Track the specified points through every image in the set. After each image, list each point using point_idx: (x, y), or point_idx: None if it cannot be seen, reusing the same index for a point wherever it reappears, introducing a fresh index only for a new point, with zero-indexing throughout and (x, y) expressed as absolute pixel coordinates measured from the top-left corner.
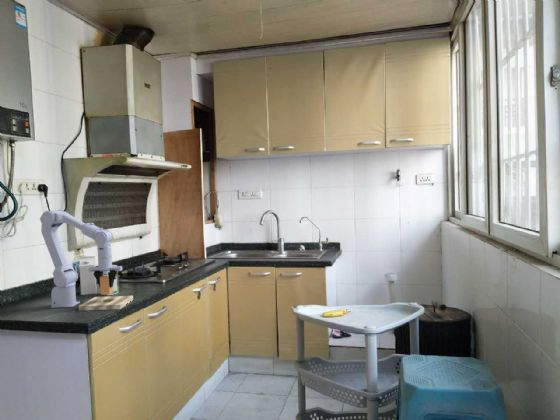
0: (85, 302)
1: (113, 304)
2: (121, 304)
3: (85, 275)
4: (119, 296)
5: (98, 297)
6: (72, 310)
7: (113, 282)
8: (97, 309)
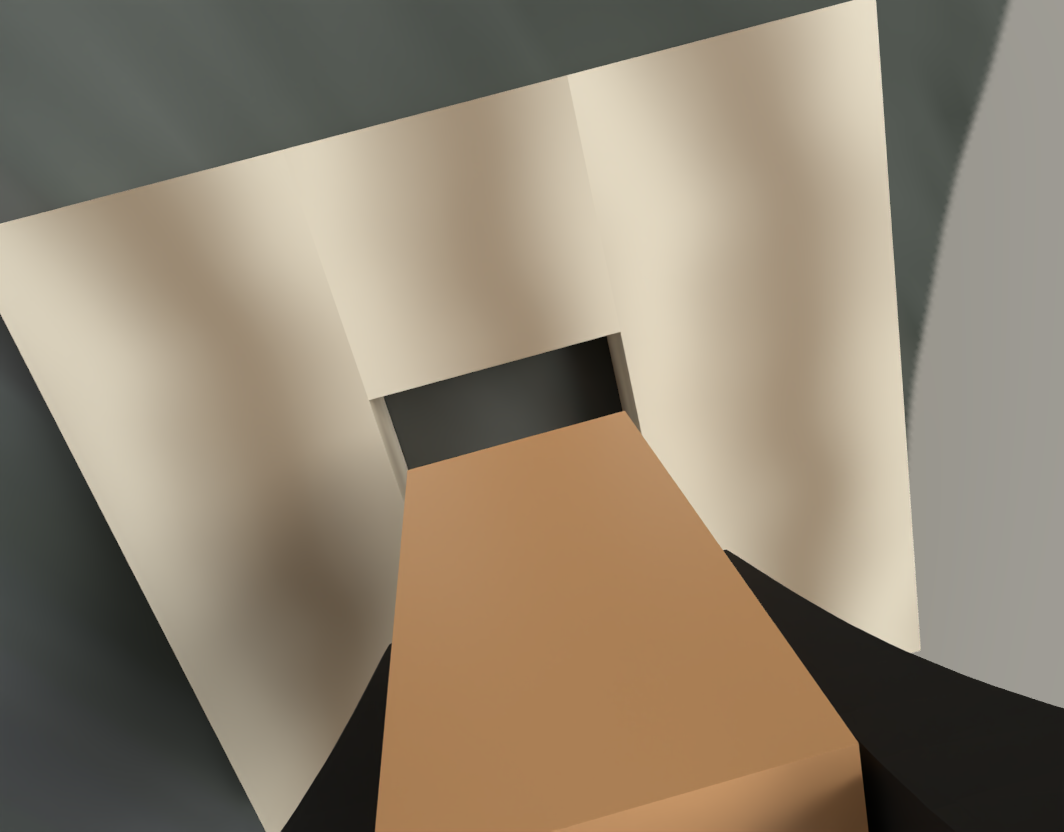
0: (179, 650)
1: None
2: (909, 595)
3: None
4: (580, 110)
5: (103, 264)
6: (159, 784)
7: (796, 598)
8: None
